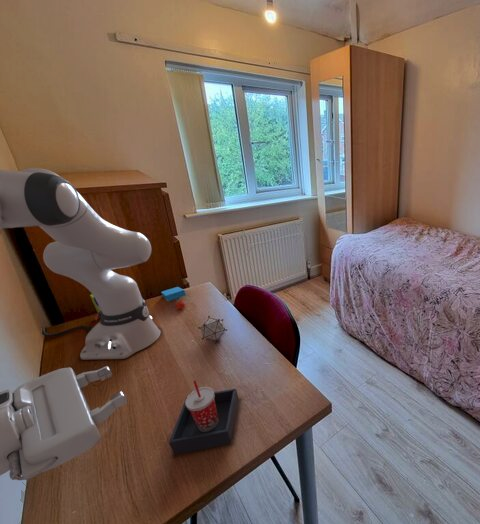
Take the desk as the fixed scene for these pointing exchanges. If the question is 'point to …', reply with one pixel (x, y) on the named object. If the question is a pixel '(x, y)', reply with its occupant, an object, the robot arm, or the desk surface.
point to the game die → (212, 329)
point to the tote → (193, 439)
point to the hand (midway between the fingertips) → (117, 382)
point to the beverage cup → (203, 408)
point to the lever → (175, 296)
